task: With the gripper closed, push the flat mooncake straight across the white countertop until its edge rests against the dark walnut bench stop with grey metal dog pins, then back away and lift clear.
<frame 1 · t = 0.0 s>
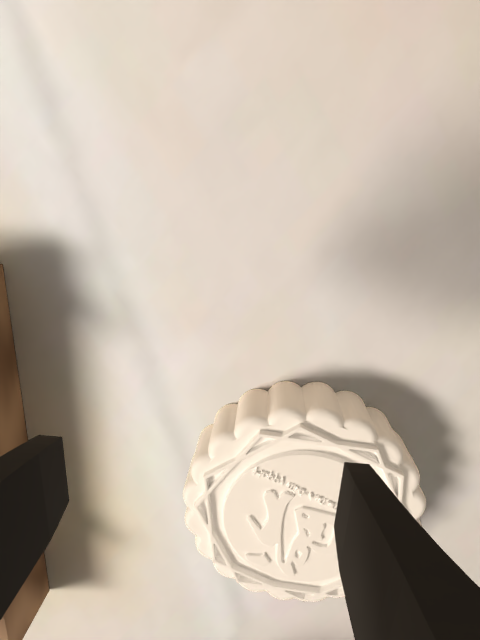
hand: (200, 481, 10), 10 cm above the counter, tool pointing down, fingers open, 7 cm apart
bench stop: (4, 450, 23), on the counter
mooncake: (297, 470, 22), on the counter
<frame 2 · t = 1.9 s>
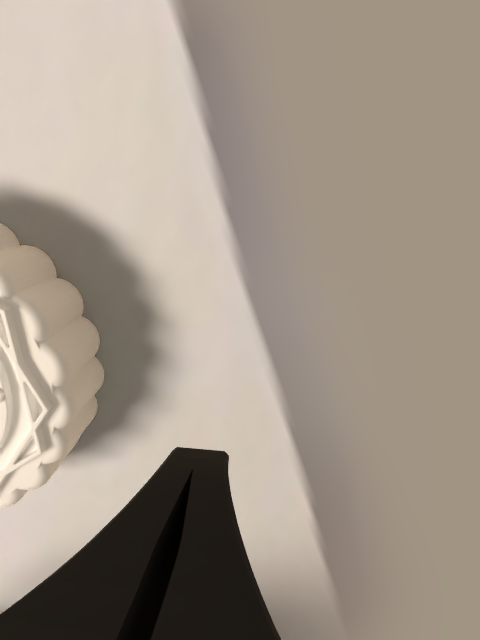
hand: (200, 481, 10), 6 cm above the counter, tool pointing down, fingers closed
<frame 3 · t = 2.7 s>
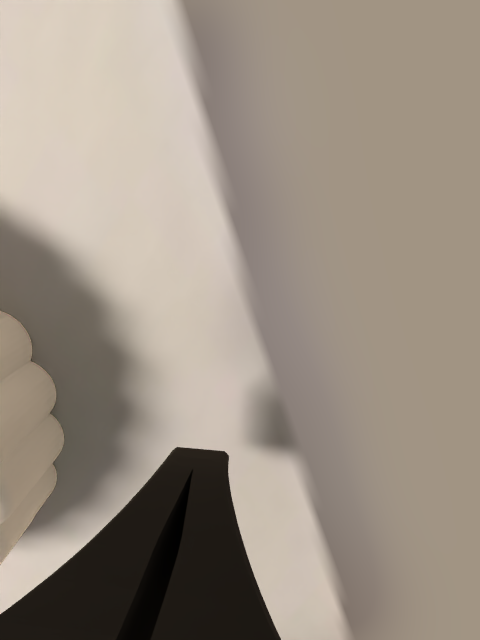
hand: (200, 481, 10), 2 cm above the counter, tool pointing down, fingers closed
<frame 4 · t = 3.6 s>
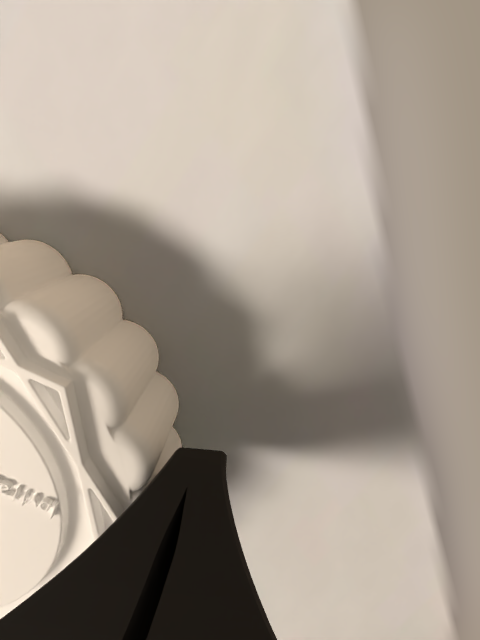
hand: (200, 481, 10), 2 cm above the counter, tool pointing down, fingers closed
mooncake: (0, 410, 12), on the counter, touching gripper
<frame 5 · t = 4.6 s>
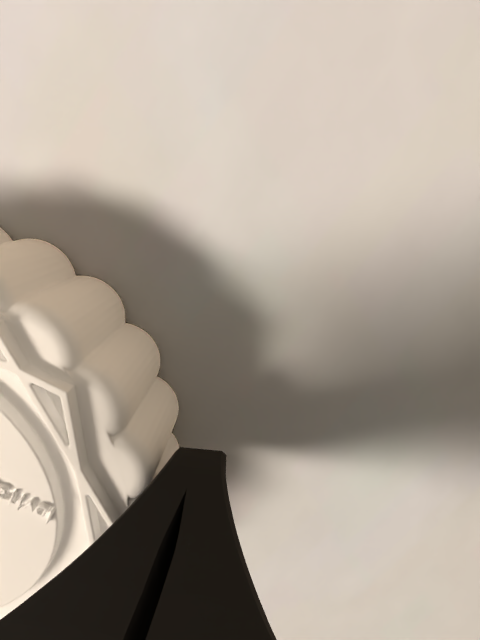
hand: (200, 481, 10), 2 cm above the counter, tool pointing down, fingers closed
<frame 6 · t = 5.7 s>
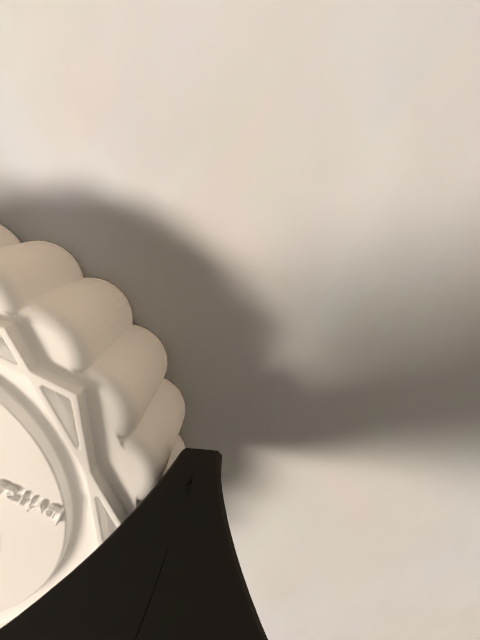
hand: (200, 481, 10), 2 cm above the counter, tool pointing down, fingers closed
mooncake: (3, 410, 12), on the counter, touching bench stop, gripper
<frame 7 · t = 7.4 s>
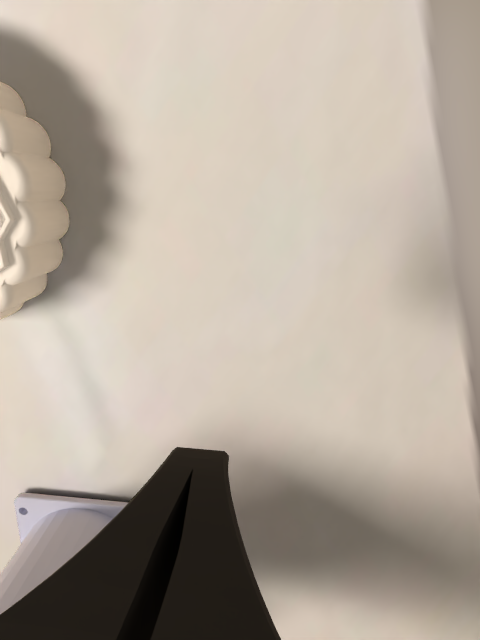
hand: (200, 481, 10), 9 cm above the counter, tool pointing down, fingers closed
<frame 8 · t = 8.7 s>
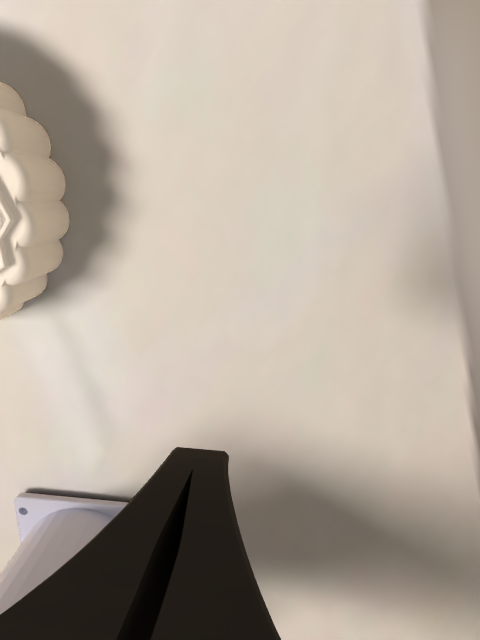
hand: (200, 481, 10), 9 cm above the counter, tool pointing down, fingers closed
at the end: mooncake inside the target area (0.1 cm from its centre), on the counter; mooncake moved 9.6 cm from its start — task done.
